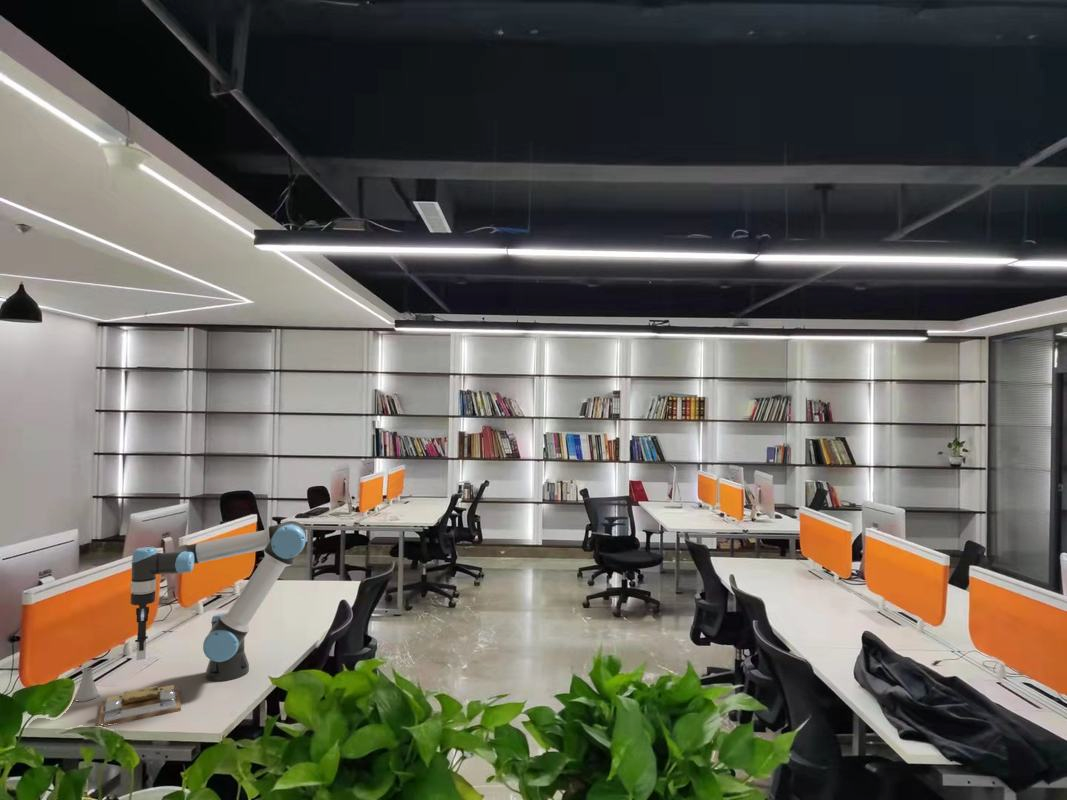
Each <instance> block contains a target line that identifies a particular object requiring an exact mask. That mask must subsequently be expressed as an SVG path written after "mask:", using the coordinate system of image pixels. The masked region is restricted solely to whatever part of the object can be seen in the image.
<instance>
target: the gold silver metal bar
mask: <svg viewBox="0 0 1067 800" xmlns="http://www.w3.org/2000/svg"><path fill="white" fill-rule="evenodd" d="M174 688H175V684H172V685H165V686H161V687H159V685H155V686H150V687H144V688H138V689H132V690H127V691H124V692H123V694H119V695H114V696H113V695H112V696H107V698H106V701H107V702H108V701H113V700H119V699H122V702H124V705H125V704H130V703H135V702H140V701H145V700H150V699H155V698H158V695H160V692H161V691H166V690H171V689H174Z"/></svg>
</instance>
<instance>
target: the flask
mask: <svg viewBox="0 0 1067 800" xmlns="http://www.w3.org/2000/svg"><path fill="white" fill-rule="evenodd" d="M93 671H94V668H93V667H88V668H84V669H82V670H81V672H82V677H81V681H80V683H79V686H78V689H77V691H76V694H75V695H74V697H73V700H74V701H75V700H78V702H81V703H82V702H83V703H84V702H87V701H91V700H94V699H96V698H98V697H100V693H99V690H98V688H97V686H96V683H95V681H94V677H93Z"/></svg>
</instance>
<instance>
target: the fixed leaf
mask: <svg viewBox="0 0 1067 800" xmlns="http://www.w3.org/2000/svg"><path fill="white" fill-rule="evenodd" d="M175 697H177V693H175V689H171V690H166V691H161V692H160V703H157V704H152V705H147V706H142V707H137V708H131V709H126V710H122V699H119V700H113V701H108V702H105V706H104V707H103V711H105V716H104V722H108V721H113V720H118V719H123V718H128V717H133V716H138V715H142V714H147V713H152V712H157V711H162V710H167V709H172V708H176V702H175Z"/></svg>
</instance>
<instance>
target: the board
mask: <svg viewBox="0 0 1067 800" xmlns="http://www.w3.org/2000/svg"><path fill="white" fill-rule="evenodd" d="M179 688H180V687H179V686H177V687H174V689H175V693H177V697H175V702H176V708H172V709H167V710H162V711H157V712H152V713H147V714H142V715H138V716H133V717H128V718H123V719H118V720H113V721H108V722H104V716H105V711H103V707H104V706H105V702H107V700H104V701H101V707H100V713H99V718H98V724H97V727H98V726H103V727H102V728H104V727H105V728H106V726H104V725H108V724H114V723H117V724H116V725H118V723H119V724H124V723H129V722H133V721H139V720H142V719H148V718H152V717H158V716H163V715H166V714H167V715H168V714H172V713H176V712H181V711H182V706H181V699H180V697H181V696H180V689H179ZM157 703H160V695H158V698H155V699H150V700H145V701H140V702H135V703H130V704H125V705H124V702H122V710H126V709H131V708H137V707H142V706H147V705H152V704H157ZM101 724H103V725H101ZM109 726H111V725H108V726H107V727H109Z"/></svg>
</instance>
